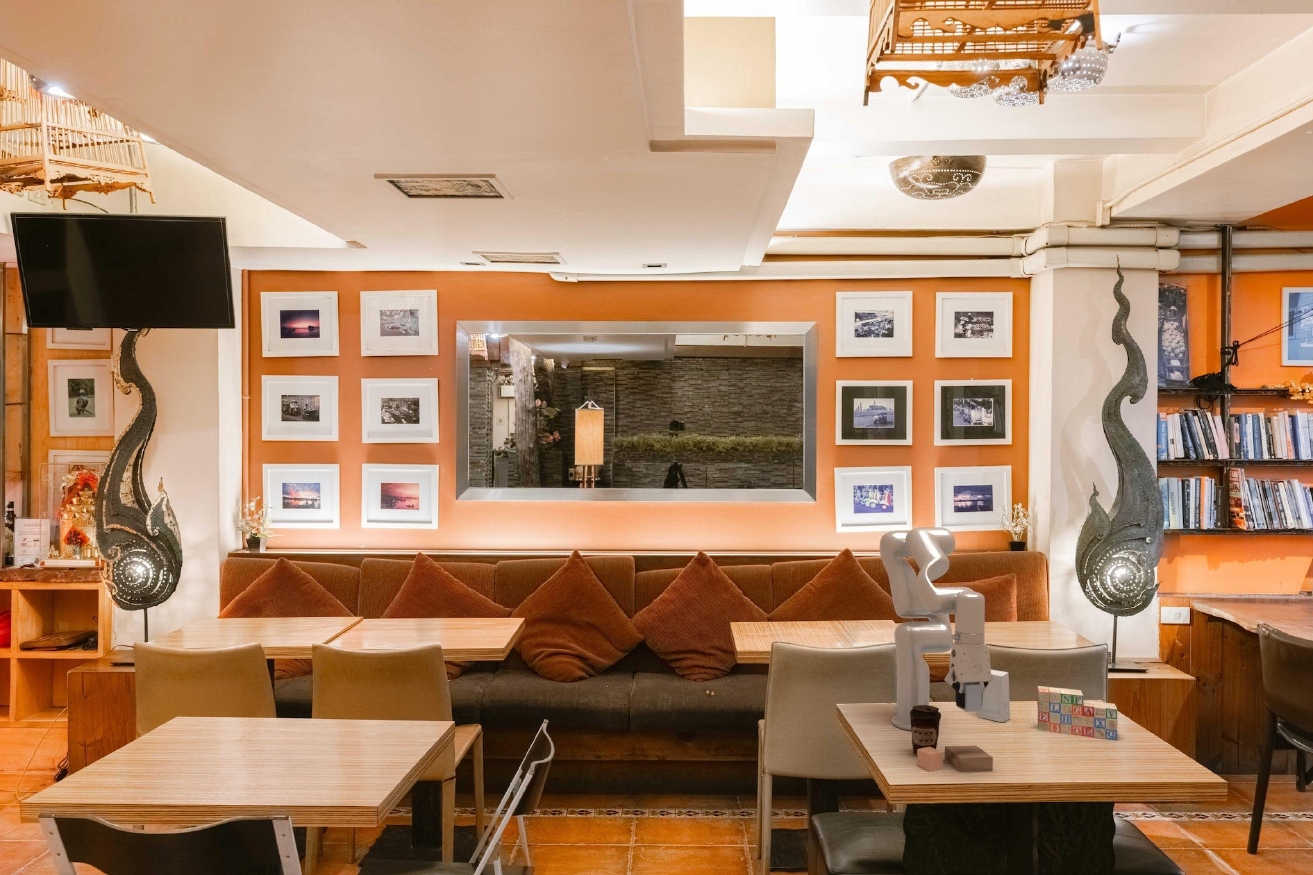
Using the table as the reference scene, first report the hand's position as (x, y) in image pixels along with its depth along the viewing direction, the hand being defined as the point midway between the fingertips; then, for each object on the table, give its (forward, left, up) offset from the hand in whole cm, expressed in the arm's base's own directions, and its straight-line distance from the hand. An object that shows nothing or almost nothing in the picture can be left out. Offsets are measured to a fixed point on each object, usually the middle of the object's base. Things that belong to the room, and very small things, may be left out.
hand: (969, 705), depth 227 cm
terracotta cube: (-1, -11, -16) cm, 20 cm away
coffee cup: (-10, -7, -16) cm, 20 cm away
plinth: (0, 0, -16) cm, 16 cm away
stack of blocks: (-17, +49, -16) cm, 54 cm away
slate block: (0, 0, -1) cm, 1 cm away
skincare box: (-34, +32, -16) cm, 50 cm away
